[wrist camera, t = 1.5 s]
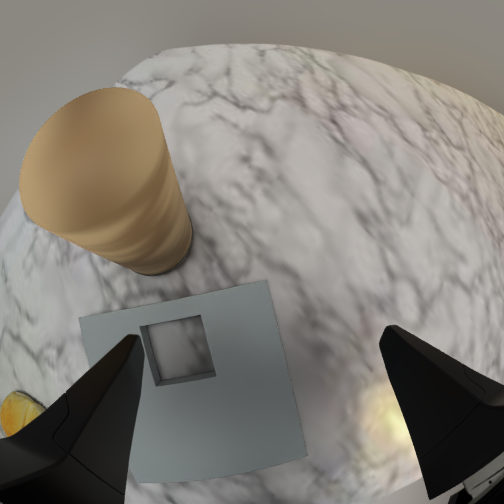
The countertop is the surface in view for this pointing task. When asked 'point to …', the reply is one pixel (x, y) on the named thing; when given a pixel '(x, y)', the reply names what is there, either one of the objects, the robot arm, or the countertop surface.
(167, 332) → the countertop surface
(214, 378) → the slate board
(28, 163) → the oak leg
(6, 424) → the bread roll
